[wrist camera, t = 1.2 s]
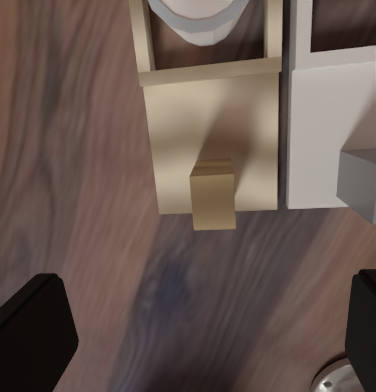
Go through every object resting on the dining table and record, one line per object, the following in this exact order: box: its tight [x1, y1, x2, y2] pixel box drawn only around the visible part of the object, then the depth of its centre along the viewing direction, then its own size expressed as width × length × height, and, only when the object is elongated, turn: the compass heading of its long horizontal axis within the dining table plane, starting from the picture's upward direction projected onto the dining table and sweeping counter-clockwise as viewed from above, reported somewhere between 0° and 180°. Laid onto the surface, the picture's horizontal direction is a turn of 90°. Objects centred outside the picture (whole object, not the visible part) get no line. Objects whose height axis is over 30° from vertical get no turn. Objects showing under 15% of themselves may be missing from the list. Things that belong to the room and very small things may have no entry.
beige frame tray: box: [129, 0, 283, 230], centre depth 20 cm, size 22×11×7 cm, turn 5°
